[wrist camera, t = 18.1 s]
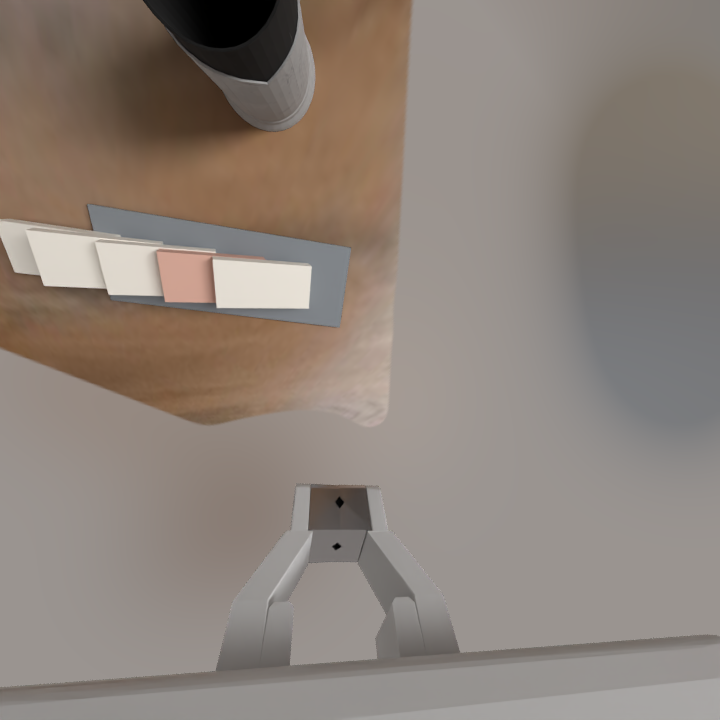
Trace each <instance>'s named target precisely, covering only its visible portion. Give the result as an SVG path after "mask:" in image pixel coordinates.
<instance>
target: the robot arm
mask: <svg viewBox="0 0 720 720" xmlns="http://www.w3.org/2000/svg"><path fill="white" fill-rule="evenodd" d="M318 562H358V565H359V567H360V568H361V570H362V572H363V573H364V575H365V577H366V579H367V581H368V583H369V584H370V586H371V588H372V590H373V592H374V593H375V595H376V597H377V599H378V601H379V602H380V604H381V606H382V608H383V609H384V611H385V613H386V617H385V619H384V621H383V624H382V626H381V628H380V630H379V632H378V634H377V636H376V638H375V639H376V649H377V659H372V660H360V661H346V662H332V663H320V664H307V665H293V666H290V652H291V639H292V627H293V614H294V606H293V605H292V604H291V603H290V602H289V601H288V600H289V598H290V596H291V594H292V592H293V591H294V589H295V587H296V585H297V584H298V582H299V580H300V578H301V576H302V575H303V573H304V571H305V569H306V567H307V566H308V563H318ZM0 720H720V636H717V635H693V636H680V637H668V638H653V639H640V640H626V641H613V642H600V643H586V644H573V645H561V646H547V647H534V648H520V649H506V650H493V651H479V652H466V653H460V651H459V647H458V644H457V640H456V637H455V633H454V630H453V626H452V623H451V620H450V616H449V613H448V609H447V606H446V602H445V599H444V596H443V594H442V592H441V591H440V590H439V589H438V588H437V586H436V585H435V584H434V582H433V581H432V580H431V579H430V577H429V576H428V575H427V574H426V572H425V571H424V570H423V569H422V567H421V566H420V565H419V564H418V562H417V561H416V560H415V559H414V557H413V556H412V555H411V554H410V552H409V551H408V550H407V549H406V547H405V546H404V545H403V544H402V542H401V541H400V540H399V539H398V537H397V536H396V535H395V534H394V533H393V531H388V527H387V522H386V517H385V511H384V506H383V500H382V496H381V490H380V487H379V486H365V485H321V484H311V485H310V484H298V483H297V484H296V487H295V494H294V504H293V512H292V521H291V529H290V531H285V532H284V534H283V535H282V536H281V538H280V539H279V541H278V542H277V543H276V544H275V546H274V547H273V548H272V550H271V551H270V552H269V554H268V555H267V556H266V558H265V559H264V560H263V562H262V563H261V564H260V566H259V567H258V568H257V570H256V571H255V572H254V574H253V575H252V577H251V578H250V579H249V581H248V582H247V583H246V585H245V586H244V587H243V589H242V590H241V591H240V592H239V594H238V595H237V597H236V598H235V599H234V601H233V602H232V607H231V610H230V614H229V618H228V623H227V627H226V631H225V635H224V639H223V643H222V647H221V651H220V655H219V660H218V663H217V668H216V671H212V672H200V673H185V674H173V675H160V676H145V677H132V678H119V679H106V680H92V681H79V682H65V683H52V684H39V685H25V686H12V687H0Z"/></svg>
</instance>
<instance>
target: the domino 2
mask: <svg viewBox="0 0 720 720" xmlns="http://www.w3.org/2000/svg"><path fill="white" fill-rule="evenodd" d="M25 231H26V234H27V237H28V240H29V243H30V246H31V249H32V252H33V255H34V258H35V261H36V263H37V266H38V269H39V272H40V275H41V278H42V281H43V284H44V286H58V287H81V288H104V289H107V287H106V283H105V279H104V276H103V272H102V268H101V264H100V260H99V257H98V253H97V249H96V245H95V241H97V240H99V239H104V240H116V241H127V242H139V243H151V244H162V245H163V242H162V241H153V240H144V239H135V238H125V237H116V236H107V235H98V234H88V233H79V232H70V231H60V230H51V229H42V228H30V229H27V230H25Z"/></svg>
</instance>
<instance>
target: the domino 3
mask: <svg viewBox="0 0 720 720" xmlns="http://www.w3.org/2000/svg"><path fill="white" fill-rule="evenodd" d="M95 245H96V249H97V253H98V257H99V260H100V264H101V268H102V272H103V276H104V279H105V283H106V287H107V291H108V294H109V295H140V296H164V292H163V287H162V281H161V275H160V270H159V264H158V258H157V252H156V251H157V250H158V249H171V250H184V251H196V252H209V253H216V249H209V248H197V247H186V246H174V245H162V244H151V243H139V242H127V241H116V240H104V239H99V240H97V241H95Z"/></svg>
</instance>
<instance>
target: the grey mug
mask: <svg viewBox="0 0 720 720" xmlns="http://www.w3.org/2000/svg"><path fill="white" fill-rule="evenodd" d="M143 1H144V2H145V4H146V5H147V6H148V8H149V9H150V10H151V11H152V13H153V14H154V15H155V16H156V17H157V18H158V19H159V20H160V21H161V22H162V24H163V25H164V26H165V28H166V30H167V31H168V33H169V34H170V35H171V37H172V38H173V39H174V41H175V42H176V43H177V44H178V45H179V46H180V48H181V49H182V50H183V51H184V52H185V53H186V54H187V55H188V56H189V57H190V58H191V59H192V60H193V61H194V62H195V63H196V64H197V65H198V66H199V67H200V68H201V69H202V70H203V71H204V72H205V73H206V74H207V75H208V76H209V77H210V78H211V79H212V80H213V81H214V82H215V83H216V85H217V86H218V87H219V88H220V89H221V90H222V91H223V93H224V95H225V97H226V98H227V100H228V102H229V103H230V105H231V106H232V107H233V109H234V110H235V111H236V112H237V113H238V114H239V115H240V116H241V117H242V118H243V119H244V120H245V121H247V122H248V123H249V124H251V125H252V126H255V127H257V128H259V129H262V130H265V131H273V132H276V131H283V130H286V129H288V128H291V127H292V126H293V125H295V124H296V123H298V122H299V121H300V120H301V118H302V117H303V116H304V115H305V113H306V112H307V110H308V108H309V106H310V103H311V101H312V97H313V93H314V87H315V66H314V59H313V55H312V51H311V48H310V45H309V42H308V40H307V38H306V35H305V33H304V27H303V21H302V14H301V8H300V1H299V0H143Z"/></svg>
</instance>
